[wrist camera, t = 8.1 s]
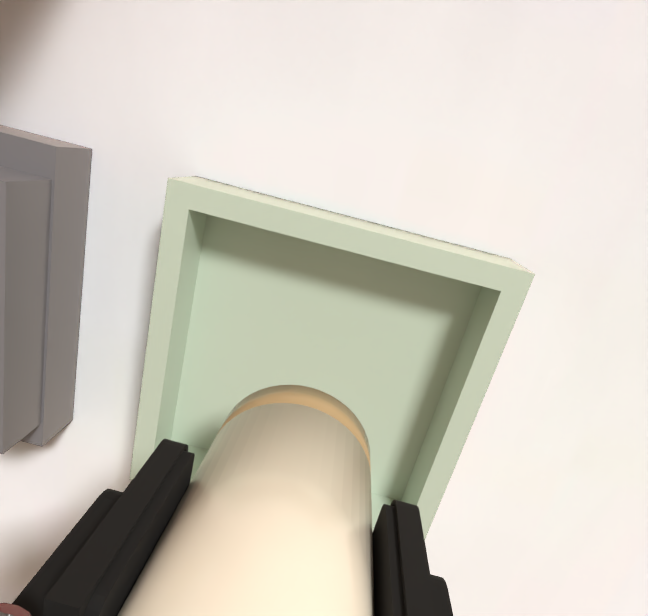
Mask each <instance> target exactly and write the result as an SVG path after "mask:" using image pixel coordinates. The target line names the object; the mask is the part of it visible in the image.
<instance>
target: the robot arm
mask: <svg viewBox="0 0 648 616" xmlns="http://www.w3.org/2000/svg"><path fill="white" fill-rule="evenodd" d="M194 457H195V454H194V453H191V452H188V445H187V444H183V443H180V442H176V441H172V440H168V439H163V440H162V441H161V442H160V444H159V445H158V446H157V448H156V449H155V450H154V452H153V453H152V454H151V456H150V457H149V458H148V460H147V461H146V463H145V464H144V465H143V467H142V468H141V469H140V471H139V472H138V473H137V475H136V476H135V477H134V479H133V480H132V481H131V483H130V484H129V485H128V487H127V488H126V489H125V491H124V492H119V491H115V490H111V489H107V490H105V491H104V492H103V493H102V494H101V495H100V496H99V497H98V498H97V499H96V501H95V502H94V503H93V504H92V506H91V507H90V508H89V509H88V511H87V512H86V513H85V514H84V516H83V517H82V518H81V519H80V520H79V522H78V523H77V524H76V525H75V527H74V528H73V529H72V530H71V532H70V533H69V534H68V535H67V537H66V538H65V539H64V540H63V541H62V543H61V544H60V545H59V546H58V548H57V549H56V550H55V551H54V553H53V554H52V555H51V556H50V558H49V559H48V560H47V561H46V563H45V564H44V565H43V566H42V567H41V569H40V570H39V571H38V572H37V574H36V575H35V576H34V577H33V579H32V580H31V581H30V582H29V584H28V585H27V586H26V587H25V588H24V590H23V591H22V592H21V593H20V595H19V596H18V597H17V598H16V600H15V601H14V602H13V603H12V604H8V603H0V616H117V615H118V613H119V611H120V610H121V608H122V606H123V604H124V602H125V600H126V599H127V597H128V595H129V593H130V591H131V590H132V588H133V586H134V584H135V582H136V581H137V579H138V577H139V575H140V573H141V571H142V570H143V568H144V566H145V564H146V562H147V561H148V559H149V557H150V555H151V553H152V552H153V550H154V548H155V546H156V544H157V542H158V541H159V539H160V537H161V535H162V533H163V532H164V530H165V528H166V526H167V524H168V523H169V521H170V519H171V517H172V515H173V513H174V512H175V510H176V508H177V506H178V504H179V503H180V501H181V499H182V497H183V495H184V493H185V492H186V490H187V488H188V486H189V484H190V479H191V474H192V468H193V463H194ZM372 536H373V572H374V608H375V616H453V613H452V608H451V603H450V598H449V593H448V588H447V585H446V582H445V580H444V579H443V578H442V577H438V576H434V575H431V574H430V571H429V565H428V559H427V553H426V547H425V541H424V535H423V529H422V523H421V517H420V511H419V507H418V506H417V505H413V504H409V503H406V502H402V501H398V500H393V501H392V502H391V505H387V504H383V506H382V508H381V511H380V513H379V516H378V519H377V522H376V524H375V527H374V530H373V533H372Z"/></svg>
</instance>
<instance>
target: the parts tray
mask: <svg viewBox="0 0 648 616" xmlns="http://www.w3.org/2000/svg"><path fill="white" fill-rule="evenodd" d="M534 276H535V274H534V273H532V272H531V271H529V270H528V269H526V268H524V267H523V266H521V265H520V264H518V263H516V262H515V261H513V260H512V259H510V258H506V257H502V256H498V255H495V254H491V253H487V252H483V251H479V250H476V249H472V248H468V247H464V246H460V245H457V244H453V243H449V242H445V241H441V240H437V239H434V238H430V237H426V236H422V235H418V234H415V233H411V232H407V231H403V230H399V229H395V228H392V227H388V226H384V225H380V224H376V223H373V222H369V221H365V220H361V219H357V218H354V217H350V216H346V215H342V214H338V213H334V212H331V211H327V210H323V209H319V208H315V207H312V206H308V205H304V204H300V203H296V202H292V201H289V200H285V199H281V198H277V197H273V196H270V195H266V194H262V193H258V192H254V191H251V190H247V189H243V188H239V187H235V186H231V185H228V184H224V183H220V182H216V181H212V180H209V179H205V178H201V177H197V176H192V177H175V178H168V181H167V189H166V197H165V205H164V213H163V221H162V229H161V236H160V244H159V252H158V260H157V268H156V276H155V284H154V292H153V299H152V307H151V315H150V323H149V331H148V339H147V347H146V355H145V362H144V370H143V378H142V386H141V394H140V402H139V410H138V418H137V425H136V433H135V441H134V449H133V457H132V465H131V473H130V480H133V479H134V477H135V476H136V475H137V473H138V472H139V471H140V469H141V468H142V467H143V465H144V464H145V463H146V461H147V460H148V458H149V457H150V456H151V454H152V453H153V452H154V450H155V449H156V448H157V446H158V445H159V444H160V442H161V441H162V440H163V439H168V440H172V441H176V442H180V443H183V444H187V445H188V452H191V453H194V454H195V457H194V463H193V468H192V474H191V479H190V483H191V481H192V479H193V477H194V475H195V474H196V472H197V470H198V468H199V466H200V464H201V463H202V461H203V459H204V457H205V455H206V454H207V452H208V450H209V448H210V446H211V445H212V443H213V441H214V439H215V437H216V435H217V434H218V432H219V430H220V428H221V426H222V425H223V423H224V421H225V419H226V417H227V416H228V414H229V413H230V411H231V410H232V409H233V408H234V407H235V406H236V405H237V404H238V403H239V402H240V401H241V400H242V399H244V398H245V397H247V396H248V395H250V394H252V393H254V392H256V391H258V390H261V389H264V388H267V387H271V386H278V385H301V386H306V387H311V388H314V389H317V390H320V391H323V392H325V393H327V394H329V395H331V396H333V397H334V398H336V399H338V400H339V401H341V402H342V403H343V404H344V405H346V406H347V407H348V408H349V409H350V410H351V411H352V412H353V413H354V414H355V416H356V417H357V418H358V420H359V421H360V423H361V424H362V426H363V428H364V430H365V432H366V435H367V438H368V442H369V446H370V464H371V500H372V533H373V530H374V527H375V524H376V522H377V519H378V516H379V513H380V511H381V508H382V506H383V504H387V505H391V502H392V501H393V500H398V501H402V502H406V503H409V504H413V505H417V506H418V507H419V511H420V517H421V523H422V529H423V535H424V540H425V538H426V535H427V533H428V531H429V528H430V526H431V523H432V521H433V519H434V516H435V514H436V511H437V509H438V507H439V504H440V502H441V499H442V497H443V495H444V492H445V490H446V487H447V485H448V482H449V480H450V478H451V475H452V473H453V470H454V468H455V466H456V463H457V461H458V458H459V456H460V454H461V451H462V449H463V446H464V444H465V442H466V439H467V437H468V434H469V432H470V430H471V427H472V425H473V422H474V420H475V418H476V415H477V413H478V410H479V408H480V405H481V403H482V401H483V398H484V396H485V393H486V391H487V389H488V386H489V384H490V381H491V379H492V377H493V374H494V372H495V369H496V367H497V365H498V362H499V360H500V357H501V355H502V353H503V350H504V348H505V345H506V343H507V340H508V338H509V336H510V333H511V331H512V328H513V326H514V324H515V321H516V319H517V316H518V314H519V312H520V309H521V307H522V304H523V302H524V300H525V297H526V295H527V292H528V290H529V288H530V285H531V283H532V280H533V278H534Z"/></svg>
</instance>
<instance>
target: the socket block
mask: <svg viewBox="0 0 648 616" xmlns="http://www.w3.org/2000/svg"><path fill="white" fill-rule="evenodd" d="M91 156H92V149H90V148H86V147H83V146H79V145H75V144H71V143H67V142H64V141H60V140H56V139H52V138H48V137H44V136H41V135H37V134H33V133H29V132H25V131H22V130H18V129H14V128H10V127H6V126H3V125H0V454H4V453H5V452H6V451H7V450H9V449H10V448H11V447H12V446H14V445H15V444H16V443H17V442H19V441H23V442H27V443H31V444H35V445H39V446H43V445H45V444H46V443H47V442H48V441H49V440H50V439H51V438H53V437H54V436H55V435H56V434H57V433H58V432H59V431H61V430H62V429H63V428H64V427H65V426H66V425H67V424H69V423H70V422H71V421H72V420H73V406H74V392H75V379H76V365H77V351H78V337H79V323H80V309H81V295H82V281H83V267H84V253H85V239H86V225H87V211H88V197H89V183H90V169H91Z"/></svg>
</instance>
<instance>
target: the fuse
mask: <svg viewBox="0 0 648 616" xmlns="http://www.w3.org/2000/svg"><path fill="white" fill-rule="evenodd" d="M117 616H375V608H374V572H373V536H372V500H371V464H370V446H369V442H368V438H367V435H366V432H365V430H364V428H363V426H362V424H361V423H360V421H359V420H358V418H357V417H356V416H355V414H354V413H353V412H352V411H351V410H350V409H349V408H348V407H347V406H346V405H344V404H343V403H342V402H341V401H339V400H338V399H336V398H334V397H333V396H331V395H329V394H327V393H325V392H323V391H320V390H317V389H314V388H311V387H306V386H301V385H278V386H271V387H267V388H264V389H261V390H258V391H256V392H254V393H252V394H250V395H248V396H247V397H245V398H244V399H242V400H241V401H240V402H239V403H238V404H237V405H236V406H235V407H234V408H233V409H232V410H231V411H230V413H229V414H228V416H227V417H226V419H225V421H224V423H223V425H222V426H221V428H220V430H219V432H218V434H217V435H216V437H215V439H214V441H213V443H212V445H211V446H210V448H209V450H208V452H207V454H206V455H205V457H204V459H203V461H202V463H201V464H200V466H199V468H198V470H197V472H196V474H195V475H194V477H193V479H192V481H191V483H190V484H189V486H188V488H187V490H186V492H185V493H184V495H183V497H182V499H181V501H180V503H179V504H178V506H177V508H176V510H175V512H174V513H173V515H172V517H171V519H170V521H169V523H168V524H167V526H166V528H165V530H164V532H163V533H162V535H161V537H160V539H159V541H158V542H157V544H156V546H155V548H154V550H153V552H152V553H151V555H150V557H149V559H148V561H147V562H146V564H145V566H144V568H143V570H142V571H141V573H140V575H139V577H138V579H137V581H136V582H135V584H134V586H133V588H132V590H131V591H130V593H129V595H128V597H127V599H126V600H125V602H124V604H123V606H122V608H121V610H120V611H119V613H118V615H117Z"/></svg>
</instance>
